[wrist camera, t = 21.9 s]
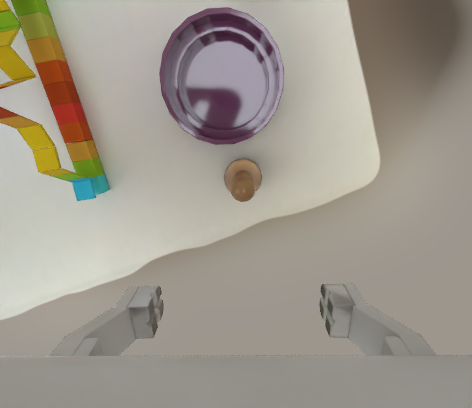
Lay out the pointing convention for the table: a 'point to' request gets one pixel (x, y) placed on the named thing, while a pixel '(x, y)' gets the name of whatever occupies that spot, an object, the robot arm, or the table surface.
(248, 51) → the bowl
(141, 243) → the table surface
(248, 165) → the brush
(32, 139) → the chart
